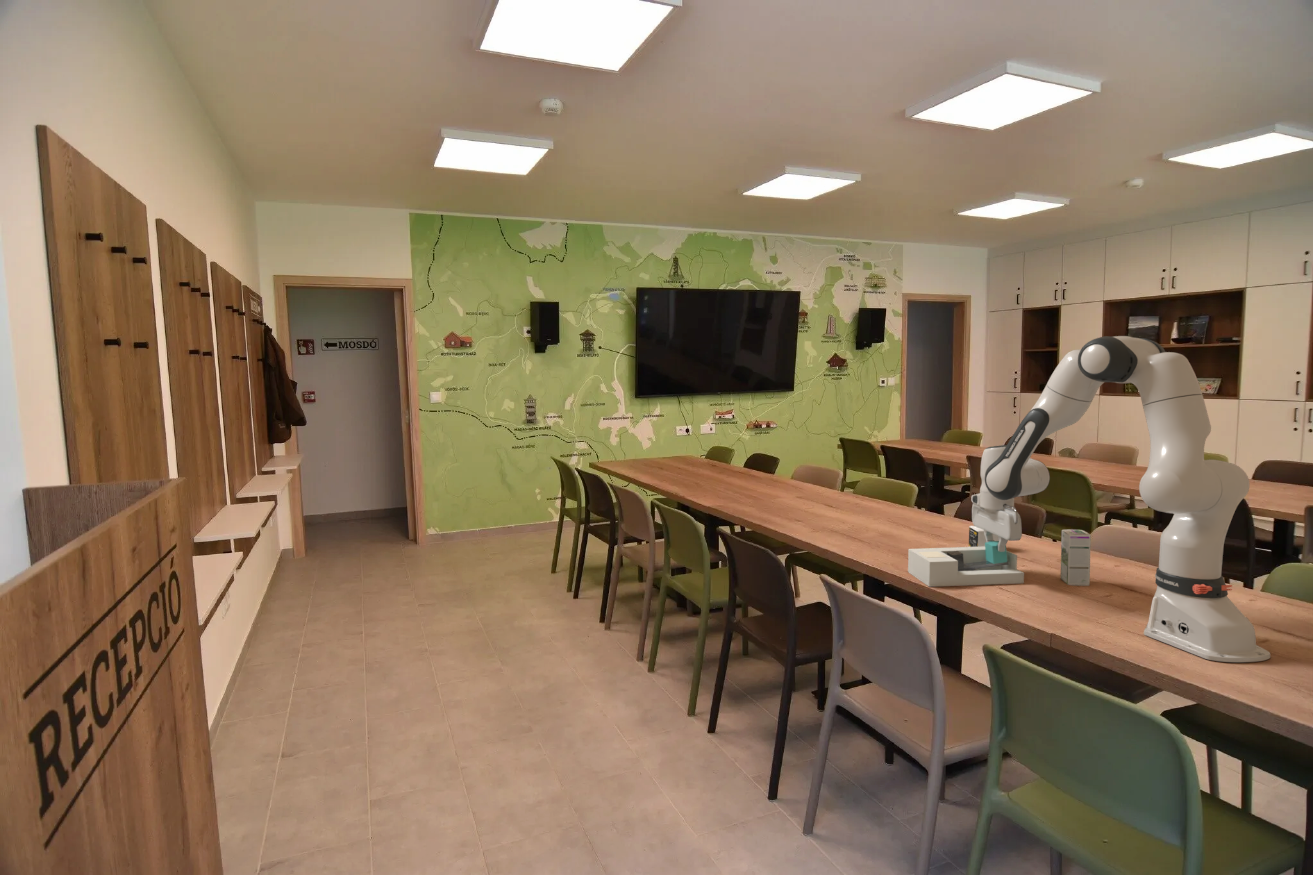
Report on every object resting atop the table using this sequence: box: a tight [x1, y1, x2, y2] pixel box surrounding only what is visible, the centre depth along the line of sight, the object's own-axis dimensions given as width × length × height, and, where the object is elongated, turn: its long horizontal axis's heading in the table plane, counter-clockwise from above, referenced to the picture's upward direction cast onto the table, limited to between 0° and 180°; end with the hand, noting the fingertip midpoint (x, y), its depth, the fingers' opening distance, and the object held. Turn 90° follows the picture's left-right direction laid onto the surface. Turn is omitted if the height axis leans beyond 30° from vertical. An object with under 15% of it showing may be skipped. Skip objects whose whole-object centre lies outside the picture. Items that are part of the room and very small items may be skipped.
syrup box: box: [1060, 528, 1092, 587], centre depth 193 cm, size 6×6×14 cm
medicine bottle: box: [968, 525, 999, 547], centre depth 229 cm, size 7×7×12 cm
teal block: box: [985, 541, 1007, 564], centre depth 200 cm, size 4×4×5 cm
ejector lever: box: [947, 551, 1009, 571], centre depth 200 cm, size 3×16×5 cm, turn 93°
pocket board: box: [907, 546, 1025, 587], centre depth 200 cm, size 14×27×7 cm, turn 93°
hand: (995, 548), depth 200 cm, fingers closed on teal block, 4 cm apart
